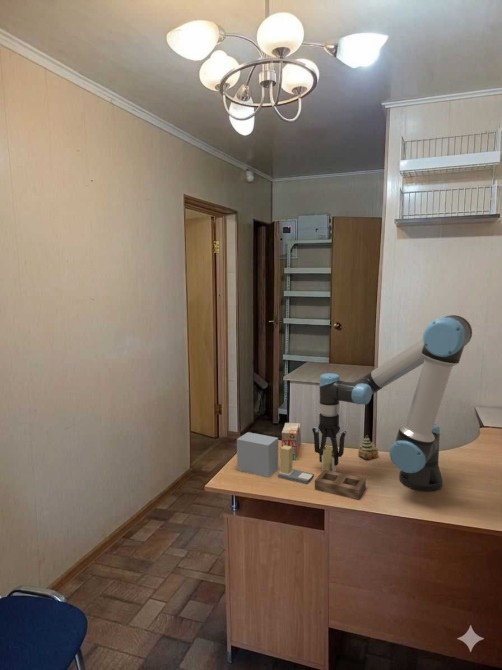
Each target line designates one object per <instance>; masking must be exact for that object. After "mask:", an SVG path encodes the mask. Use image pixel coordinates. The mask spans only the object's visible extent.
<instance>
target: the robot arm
mask: <svg viewBox="0 0 502 670" xmlns="http://www.w3.org/2000/svg"><path fill="white" fill-rule="evenodd" d="M472 336H473V328H472V325H471V324H470V322H469V321H468V319H466V318H464V317H462V316H461V315H457V314H456V315H453V314H451V315H447V316H443V317H437V318H436V319H434V320H432V321H431V322H430V323H429V324H428V325H427V326H426V327H425V329H424V331H423V335H422V339H420V340H419V341H417V342H416V343H414V344H412V345H411V346H409V347H408V348H406V349H405V350H403V351H401V352H400V353H398V354H397V355H395V356H394V357H392V358H391V359H389V360H387V361H386V362H384V363H383V364H381V365H380V366H378V367H377V368H375V369H372V371H370V372H368V373H366V374H365V375H363V376H362V377H361V378H359V379H356V380H354V381H344V380H341V378H340V375H339V374H336V373H332V372H331V373H329V372H328V373H323V374H320V376H319V385H318V386H319V406H318V407H319V409H318V410H319V412H318V413H319V414H318V415H319V421H318V422H319V424H318V426H314V427H313V428H312V429H311V430H312V433H313V441H314V442H313V443H314V444H313V445H314V447H313V448H314V453H316V454H318V455H319V457H318V458H319V463H321V473H322V472H323V449H324V448H325V447H326V442H327V440H328V439H327V438H329V439H330V442H331V445H332V446H331V447H333V453H334V456H333V457H332V471H333V472H337V466H338V465H339V458H342V456H344V449H345V437H346V435H347V431H346V430H342V429H341V427H340V414H339V413H340V402H346V403H351V404H356V405H363V406H364V405H368V404H369V403H370V401H371V399H372V395H373V394H375V393H377V392H378V391H380V390H381V389H384V388H385V387H387V386H388V385H390V384H391V383H393V382H395V381H397V380H399V379H400V378H402V377H404V376H405V375H407V374H408V373H411V371H413V370H415V369H417V368H418V367H420V366H421V371H420V374H419V377H418V380H417V382H416V383H417V384H416V388H415V390H414V394H413V396H412V397H413V398H412V401H411V405H410V407H409V411H408V415H407V418H406V422H405V423H403V424H400V425H399V427H398V428H399V429H398V432H397V434H396V439H395V441H394V442H393V443H392V444H391V446H390V448H389V457H390V461H391V462H392V464H393V465H394V467H396V469H398V470H399V473H398V475H399V481H400V483H401V484H402V485H404V486H405V487H407V488H410V489H412V490H414V491H415V490H416V491H419V492H420V491H421V492H435V491H439V490H441V488H442V487H443V481H444V480H443V476H442V473H441V469H440V467H439V457H440V456H439V455H440V454H439V453H440V436H441V429H440V426H439V425H438V424H435V422H436V419H437V416H438V413H439V409H440V407H441V404H442V400H443V398H444V395H445V391H446V388H447V384H448V382H449V378H450V375H451V373H452V369H453V367H455V366H456V365H458V364H460V361H461V358H462V355H463V351H464V348H465V347H466V346H468V344H469V343H470V342H471V339H472ZM320 433H321V441H320ZM338 434H339V443H338V441H337V440H338V439H337V435H338ZM338 444H339V445H338Z"/></svg>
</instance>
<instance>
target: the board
mask: <svg viewBox="0 0 502 670" xmlns="http://www.w3.org/2000/svg"><path fill="white" fill-rule="evenodd" d="M279 458H280V460H279V461H280V468H279V469H280V471H279V472H278V473H277V478H278V479H283V480H288V481H291V482H292V481H293V482H296V483H301V484H305V485H308V484H309V483H310V481H311V480H312V479H314V473H312V472H308V471H304V470H298V469H295V468H293V460H292V447H291V446H286V445H284V446H283V447H282V446H281V447H280V457H279Z"/></svg>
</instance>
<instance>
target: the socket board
mask: <svg viewBox="0 0 502 670" xmlns="http://www.w3.org/2000/svg"><path fill="white" fill-rule="evenodd" d="M366 481H367V479H366V478H365V477H360V476H355V475H352V474H351V475H350V474H345V473H342V472H337V471H336V472H333V471H328V470H323V472H322V471H321V473H320V474H319V475H318V476H317V477H316V478H315V480H314V490H315V491H320V492H324V493H328V494H332V495H335V496H341V497H345V498H349V499H353V500H358V501H359V499H360V498H361V496H362V495H363V493H364V491H365V490H366V487H367V486H366V485H367V482H366Z"/></svg>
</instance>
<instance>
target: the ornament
mask: <svg viewBox="0 0 502 670" xmlns="http://www.w3.org/2000/svg"><path fill="white" fill-rule="evenodd" d="M357 453H358V456H359V457H360V458H361V459H363V460H366V461H367V460H369V461H370V460H372V459H376V458H377V457H378V456H379V450H378V448H377V446H376V445H375V442H373V441H371V440H370V438H369V435H368V434H367V435H365V436H364V438H363V440H362V443H361V445H359V448H358V452H357Z"/></svg>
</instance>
